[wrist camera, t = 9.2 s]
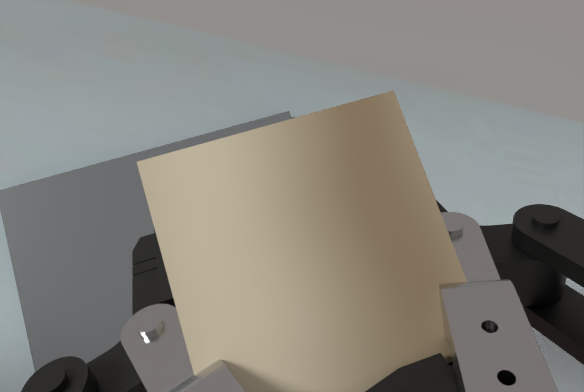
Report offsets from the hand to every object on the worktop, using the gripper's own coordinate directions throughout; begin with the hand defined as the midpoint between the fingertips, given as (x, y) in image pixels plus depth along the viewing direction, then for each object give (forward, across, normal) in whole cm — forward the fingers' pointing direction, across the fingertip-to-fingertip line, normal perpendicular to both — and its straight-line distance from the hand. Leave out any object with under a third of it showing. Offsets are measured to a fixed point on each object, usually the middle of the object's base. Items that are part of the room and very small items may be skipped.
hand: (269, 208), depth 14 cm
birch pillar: (+2, 0, +5) cm, 5 cm away
